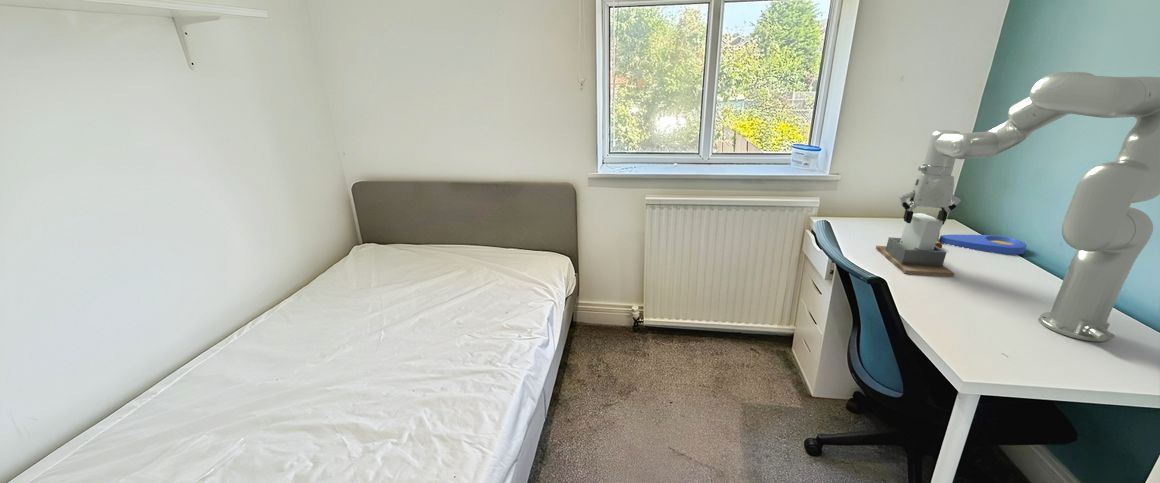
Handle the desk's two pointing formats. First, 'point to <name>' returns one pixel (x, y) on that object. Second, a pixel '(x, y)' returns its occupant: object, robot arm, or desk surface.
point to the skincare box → (921, 232)
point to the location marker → (986, 243)
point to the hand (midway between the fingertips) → (923, 222)
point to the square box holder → (915, 259)
